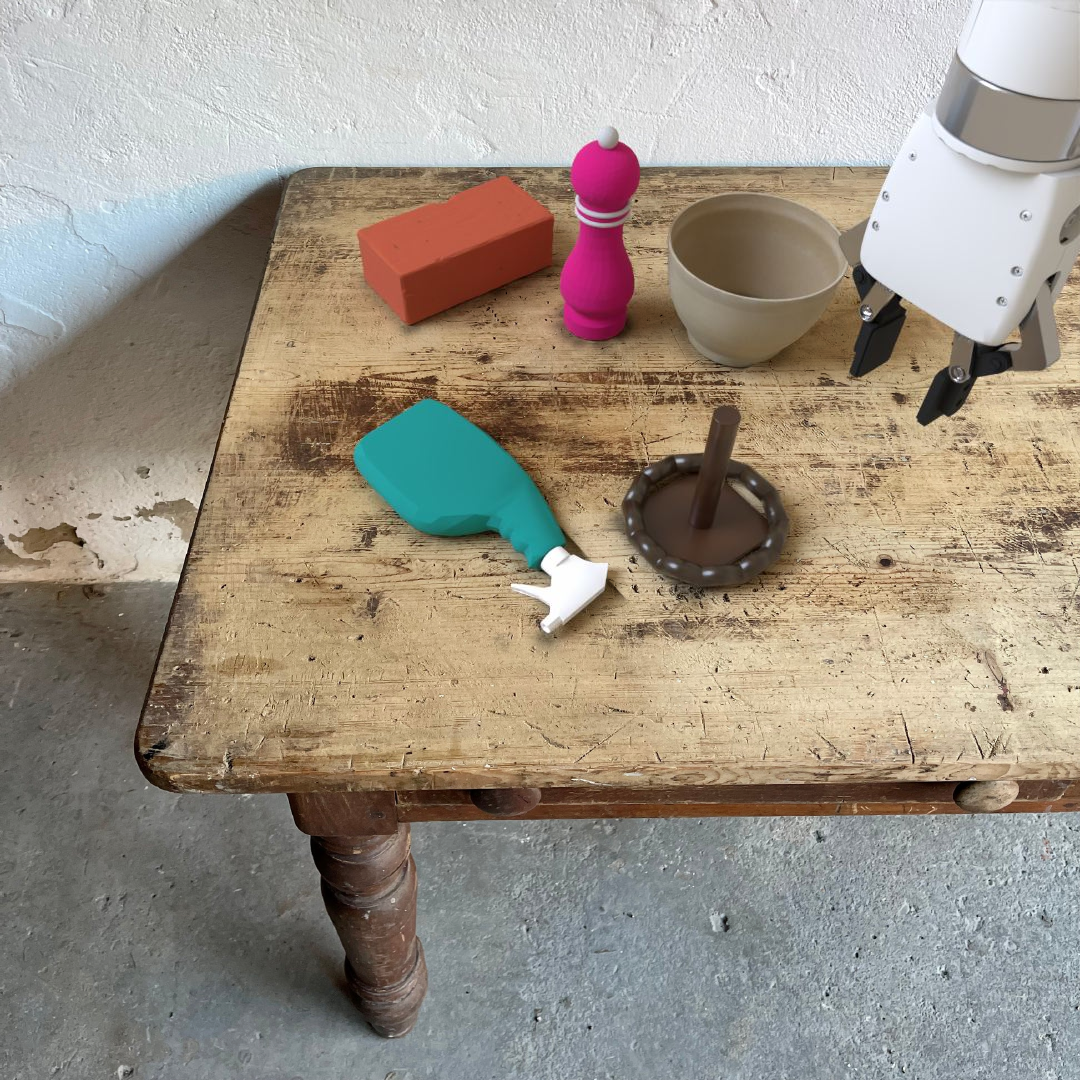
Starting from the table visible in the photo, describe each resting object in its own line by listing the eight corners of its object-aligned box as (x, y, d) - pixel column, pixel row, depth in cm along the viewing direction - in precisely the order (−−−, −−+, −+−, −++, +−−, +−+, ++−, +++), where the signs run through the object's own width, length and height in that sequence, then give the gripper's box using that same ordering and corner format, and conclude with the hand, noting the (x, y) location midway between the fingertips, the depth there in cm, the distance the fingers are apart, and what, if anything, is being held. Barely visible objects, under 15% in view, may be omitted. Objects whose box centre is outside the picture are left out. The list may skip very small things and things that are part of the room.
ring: (819, 538, 72) (824, 526, 70) (696, 618, 67) (699, 606, 66) (709, 439, 78) (712, 427, 77) (589, 506, 73) (591, 494, 72)
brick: (407, 327, 89) (400, 276, 84) (364, 280, 93) (355, 230, 88) (554, 265, 95) (555, 214, 90) (507, 224, 99) (506, 174, 95)
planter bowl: (681, 404, 82) (699, 309, 74) (636, 296, 92) (647, 200, 83) (844, 382, 84) (880, 287, 76) (783, 278, 94) (809, 183, 85)
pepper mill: (554, 340, 88) (560, 146, 72) (563, 294, 92) (570, 102, 76) (627, 348, 87) (650, 154, 71) (632, 301, 91) (655, 108, 75)
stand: (776, 539, 73) (818, 426, 63) (693, 592, 70) (723, 482, 59) (703, 472, 77) (730, 355, 67) (622, 518, 74) (637, 403, 64)
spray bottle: (441, 409, 82) (636, 573, 71) (343, 469, 77) (536, 654, 67) (439, 385, 79) (640, 552, 69) (338, 446, 75) (536, 634, 64)
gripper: (1243, 153, 39) (1053, 443, 53) (930, 18, 47) (839, 300, 62) (1146, 211, 36) (974, 500, 51) (833, 57, 45) (762, 343, 59)
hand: (901, 388), depth 56 cm, fingers open, 4 cm apart
